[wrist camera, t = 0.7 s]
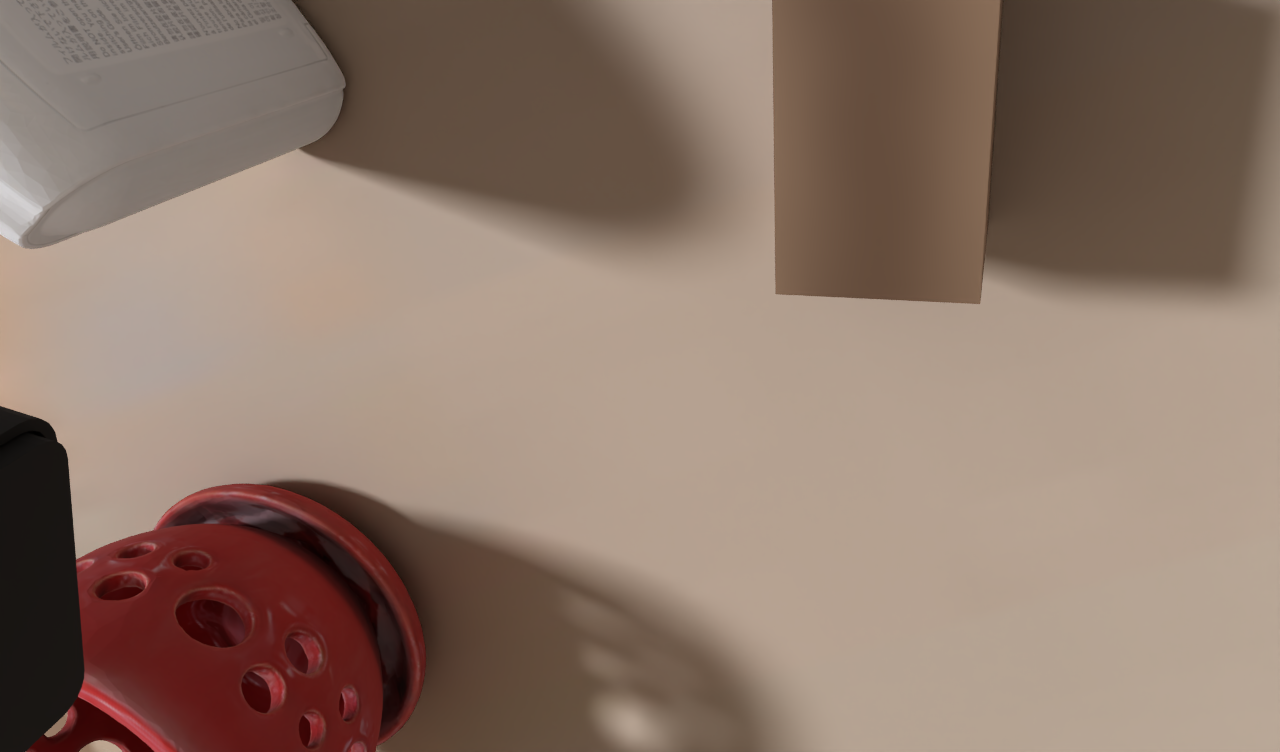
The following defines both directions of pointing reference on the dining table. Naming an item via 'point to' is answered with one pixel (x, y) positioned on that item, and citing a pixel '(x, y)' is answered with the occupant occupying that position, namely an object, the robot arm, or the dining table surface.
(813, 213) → the brown cardboard carton
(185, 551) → the plant pot
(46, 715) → the robot arm
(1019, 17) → the dining table surface
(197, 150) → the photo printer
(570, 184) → the dining table surface
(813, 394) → the dining table surface
